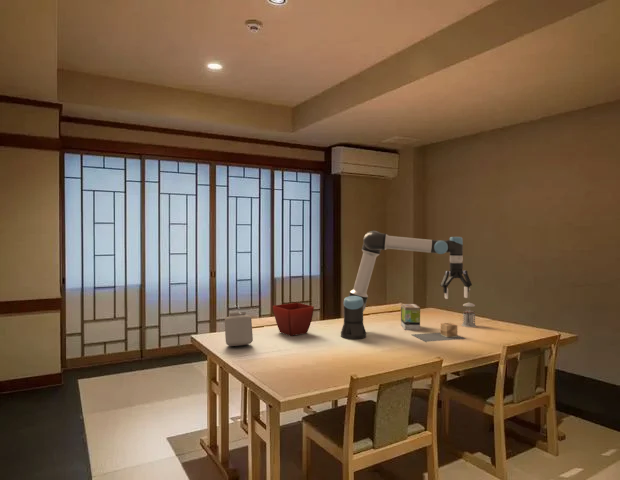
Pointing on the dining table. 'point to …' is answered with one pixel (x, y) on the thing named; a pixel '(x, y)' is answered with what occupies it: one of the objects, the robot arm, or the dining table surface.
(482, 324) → the dining table surface
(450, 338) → the slate mat
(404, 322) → the tea box
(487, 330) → the dining table surface
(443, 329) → the wooden block
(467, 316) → the french press
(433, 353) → the dining table surface
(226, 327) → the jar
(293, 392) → the dining table surface
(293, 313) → the plant pot
